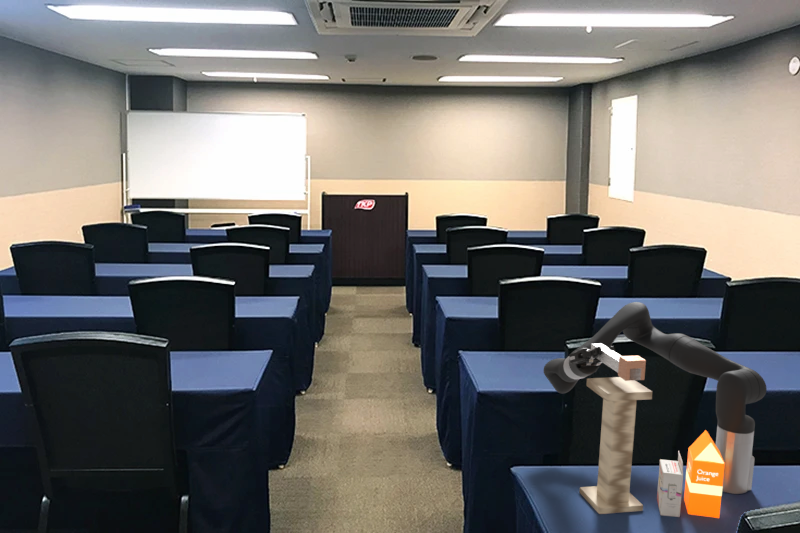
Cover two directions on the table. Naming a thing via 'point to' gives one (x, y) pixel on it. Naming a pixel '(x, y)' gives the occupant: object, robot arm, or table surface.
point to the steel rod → (622, 363)
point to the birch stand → (615, 445)
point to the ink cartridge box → (670, 487)
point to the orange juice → (704, 478)
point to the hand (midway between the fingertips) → (606, 350)
